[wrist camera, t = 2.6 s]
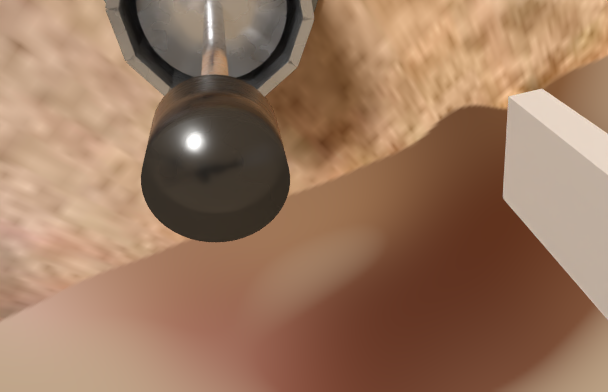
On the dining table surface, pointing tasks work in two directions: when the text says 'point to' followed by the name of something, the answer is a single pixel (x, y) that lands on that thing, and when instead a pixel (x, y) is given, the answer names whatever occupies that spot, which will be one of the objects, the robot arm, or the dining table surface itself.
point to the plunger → (214, 119)
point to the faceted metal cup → (167, 77)
